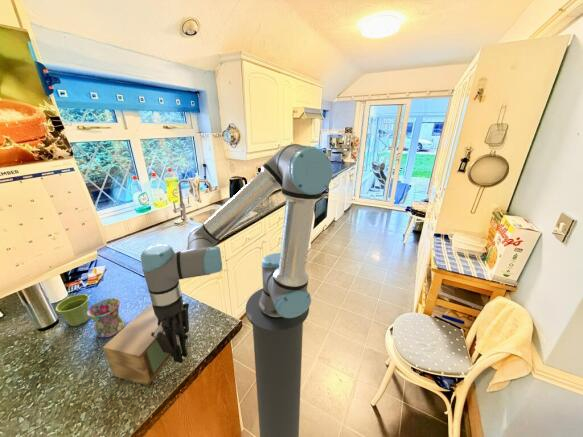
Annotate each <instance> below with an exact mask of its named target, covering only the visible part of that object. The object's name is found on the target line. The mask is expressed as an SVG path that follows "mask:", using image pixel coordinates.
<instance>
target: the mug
mask: <svg viewBox="0 0 583 437" xmlns="http://www.w3.org/2000/svg"><path fill="white" fill-rule="evenodd" d="M120 304H121V302H120V299H118V298H115V297H110V298H105V299H102V300H100V301H97V302H96V303H94V304H92V305H91V306H89V309H88V311H87V316H88V317H90V318H89V319H91V320H92V321H93V322H94V325H93V328H94V331H95V332H96V336H97V337H98V338H101V339H106V338H110V337H112V336H116V335H117V334H118V333H119V332H120V331H121V330H122V329H123V328H125V325H126V321H125V320H124V319H123V318H122V317H121V316H120V312H119V309H120Z"/></svg>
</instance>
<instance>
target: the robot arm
mask: <svg viewBox="0 0 583 437" xmlns="http://www.w3.org/2000/svg"><path fill="white" fill-rule="evenodd" d="M260 169H261V170H260V172H258V173H257V175H255V176H254V177H253V178H252V179H251V180H249V182H248V183H247V184H245V185H244V186H243V187H242V188H240V190H239V191H238V192H237V193H236V194H234V195H233V196H232V197H231V198H230V199H229V200H228V201H227V202H225V204H223V205H222V206H221V207H220V208H219V209H218V210H217V211H216V212H215V213H213V214H212V215H211V216H210V217H209V218H208V219H207V220H206V221H205V222H203V223H202V224H201V225H198V226H195V227H193V228H192V229H191V231H190V232H189V235H188V236H187V248H186V250H181V251H174V249H173V247H172V246H171V245H169V244H155V245H152V246H149V247H148V248H146V249H144V250H142V253H141V254H140V262H141V263H140V264H141V267H142V268H141V270H142V272H143V276H144V279H145V283H146V286H147V290H148V295H149V298H150V302H151V304H152V306H153V310H154V314H155V316H156V317H157V318H158V328H157V330H156V332H155V331H153V332H152V334H151V336H153V337H155V338H156V340H157V342H158V344H159V345H160V347H161V349H162V351H163V352H165V353H169V354H171V358H173V362H175V363H179V364H182V363H183V362H184V358H183V357H185V358H187V357H188V351H187V347H186V345H187V341H186V340H188V338H189V336H188V333H189V331H190V323H189V322H190V320H189V307H190V303H189V302H184V299H183V294H182V288H181V284H180V280H185V279H191V278H197V277H203V276H211V275H212V274H216V273H220V272H221V271H222V270H223V260H222V253H221V248H220V247H219V246H217V244H218V243H219V242H220V241H221V240H222V239H223V238H224V237H225V236H226V235H228V234H229V233H230V232H231V231H232V230H233V229H234V228H235V227H236V226H237V225H238V224H240V223H241V222H242V221H243V220H244V219H245V218H246V217H247V216H248V215H250V214H251V213H252V212H253V211H254V210H255V209H256V208H257V207H259V206H260V204H262V203H263V202H264V201H265V200H266V199H267V198H269V196H270V195H272V194H273V193H274V192H275V191H276V190H278V189H279V190H281V195H282V196H283V197H284V198H285V207H284V214H283V216H284V217H283V218H284V219H283V226H282V234H281V235H282V236H281V246H280V252H274V253H269V254H267V255H266V256H264V257H263V258H262V259H261V275H262V278H261V279H262V288H263V292H262V295H261V298H260V301H259V308H260V311H261V313H262V314H263V315H265V316H266V317H269V318H272V319H281V318H294V317H297V316H299V315H301V314H302V313H304V312H305V311H306V310H307V309H308V308H309V309H310V306H311V305H312V304H311V303H312V297H311V293H310V292H308V285H309V274H308V272H307V271H306V267H307V260H308V253H309V246H310V240H311V233H312V227H313V219H314V213H315V206H316V203H317V202H318V201H319V200H321V199H322V196H323V192H324V191H325V190H326V188H327V187H329V185H330V183H331V181H332V179H333V174H334V172H333V164H332V162H331V160H330V158H329V156H328V155H327V154H326V153H325V151H322V150H321V149H319V148H316V147H315V146H310V145H302V144H298V143H290V144H287V145H285V146H283V147H282V148H280V149H279V150H278V151H277V152H275V153H274V154H273V155H272V156H271V157H270V158H269V159H268V160H267V161H265V162H264V164H262V165H261V168H260ZM184 327H185V328H184ZM163 330H164V331H165V332H163ZM186 333H187V335H186ZM176 335H178V336H179V340H180V345H181V349H182V353H181V349H180V346H178V345H177V340H176Z"/></svg>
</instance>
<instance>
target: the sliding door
mask: <svg viewBox="0 0 583 437" xmlns="http://www.w3.org/2000/svg"><path fill="white" fill-rule="evenodd" d="M164 332H165V331H164ZM176 340H177V345H178V346H180V349H181V345H180V340H179V336H178V335H176ZM181 353H182V349H181ZM146 354H147V358H148V361H149V364H150V368H151V371H152V373H155V371H156V370H157V369H158V367H159V366H160V365H161V364H162V362H163V361H164V360H165V359H166V357H167V356H168V355H169V353H165V352H163V351H162V349H161V347H160V345H159V344H158V342H157V340H156V341H155V343H154V344H153V345H152V346H151V347H150V348H149V349H148V350H147V351H146Z"/></svg>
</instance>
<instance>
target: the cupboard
mask: <svg viewBox="0 0 583 437" xmlns="http://www.w3.org/2000/svg"><path fill="white" fill-rule="evenodd" d="M157 328H158V318H157V317H156V316H155V314H154V310H153V306H152V303H150V304H149V305H147V307H146V308H144V309H143V310H142V311H141V312H140V313H139V314H138V315H137V316H136V317H135V318H133V319H132V320H131V321H130V322H129V323H127V325H126V326H124V327H123V328H122V330H120V331H119V332H118V333H116V334H115V335H114V336H113V337H112V338H111V339H110V340H109V341H108V342H107V343H105V345H103V346H102V350H103V352H104V356H105V357H106V361H107V362H108V365H109V368H110V371H111V373H112V375H113V377H115V378H119V379H122V380H127V381H130V382H134V383H138V384H142V385H145V386H149V385H150V384H151V383H152V382H153V381H154V379H155V378H156V377H157V375H158V374H159V373H160V372H161V370H162V369H163V367H165V365H166V364H167V362H168V361H169V360H170V359H171V358H172V356H171V354H169V355H168V356H167V357H166V359H165V360H164V361H163V362H162V364H161V365H160V366H159V367H158V369H157V370H156V371H155V373H152V371H151V368H150V364H149V361H148V358H147V354H146V351H147V350H148V349H149V348H150V347H151V346H152V345H153V344H154V343H155V341H156V338H155V337H153V336H151V334H152V332H153V331H155V332H156V330H157ZM184 328H185V327H184ZM163 332H164V330H163ZM186 335H187V336H188V333H186Z"/></svg>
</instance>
